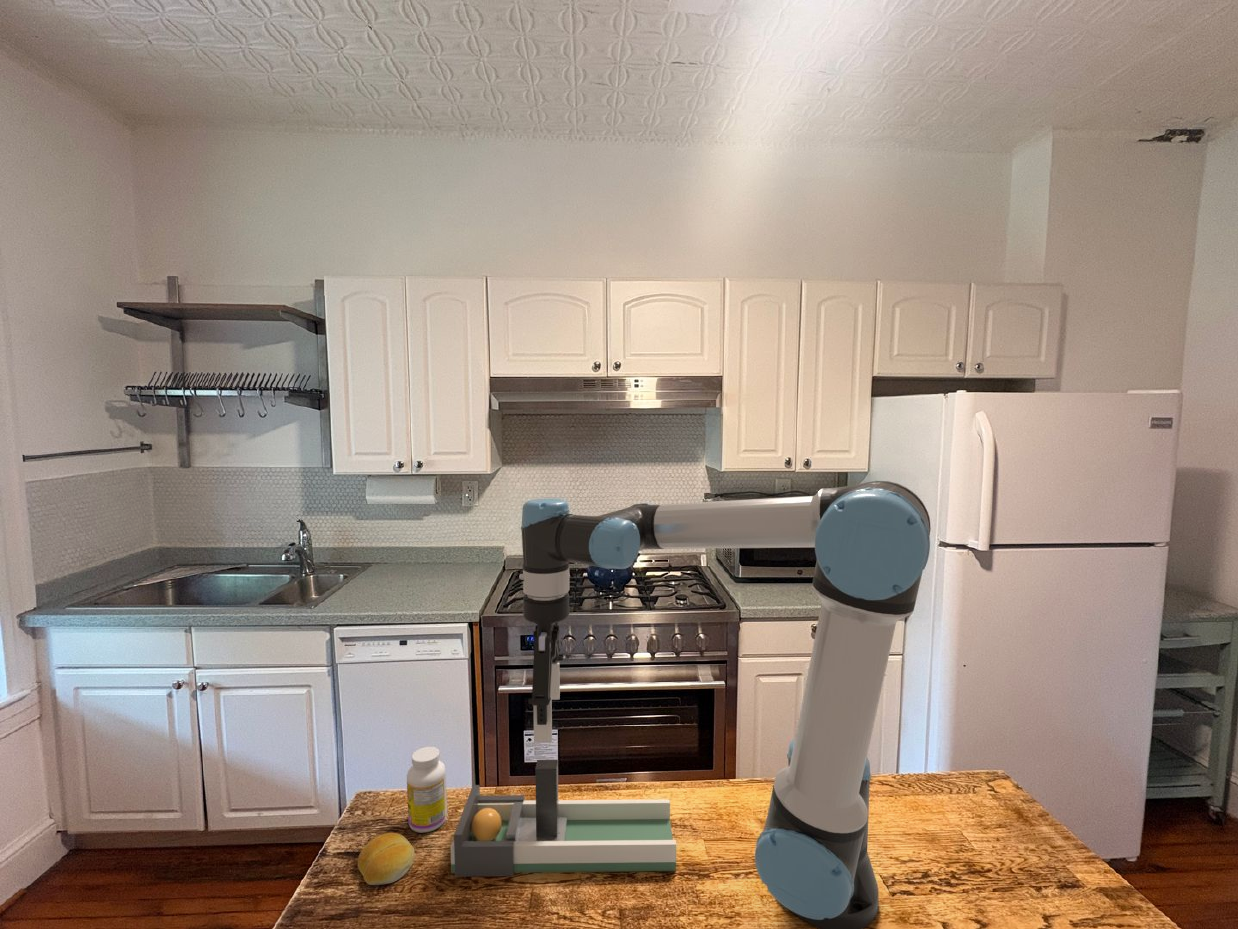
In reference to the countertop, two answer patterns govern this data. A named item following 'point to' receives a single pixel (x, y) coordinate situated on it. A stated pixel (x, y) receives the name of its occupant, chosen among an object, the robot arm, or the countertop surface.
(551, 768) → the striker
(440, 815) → the supplement bottle
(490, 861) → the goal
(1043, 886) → the countertop surface
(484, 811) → the ball
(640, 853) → the board
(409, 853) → the bread roll
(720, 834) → the countertop surface
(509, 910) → the countertop surface
